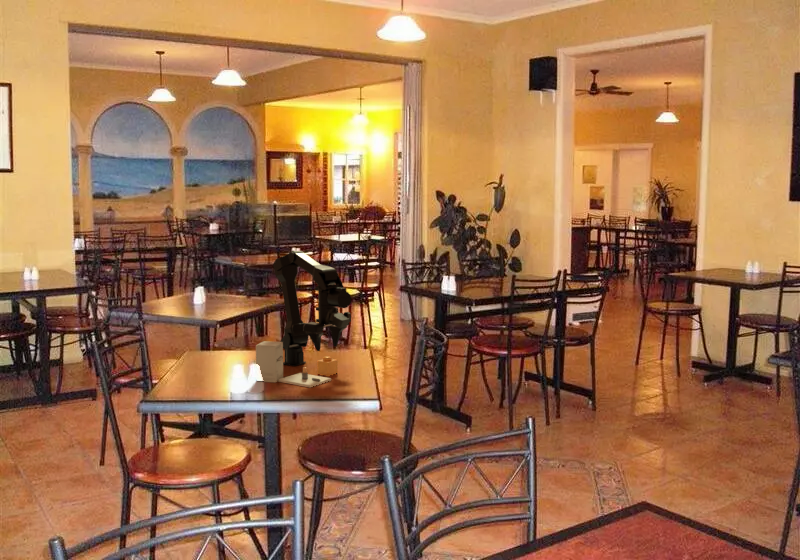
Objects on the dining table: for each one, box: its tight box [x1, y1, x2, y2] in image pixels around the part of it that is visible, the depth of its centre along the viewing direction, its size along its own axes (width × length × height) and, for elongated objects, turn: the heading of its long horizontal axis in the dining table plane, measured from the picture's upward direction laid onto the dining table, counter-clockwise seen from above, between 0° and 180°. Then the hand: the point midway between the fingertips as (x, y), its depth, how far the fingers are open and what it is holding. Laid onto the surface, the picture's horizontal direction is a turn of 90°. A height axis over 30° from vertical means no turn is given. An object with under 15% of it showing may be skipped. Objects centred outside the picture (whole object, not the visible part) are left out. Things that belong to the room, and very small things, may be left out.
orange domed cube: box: [316, 355, 339, 377], centre depth 288 cm, size 5×5×6 cm
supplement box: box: [255, 340, 284, 383], centre depth 280 cm, size 7×7×13 cm
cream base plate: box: [277, 366, 332, 388], centre depth 279 cm, size 14×11×5 cm
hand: (327, 348), depth 288 cm, fingers open, 9 cm apart
